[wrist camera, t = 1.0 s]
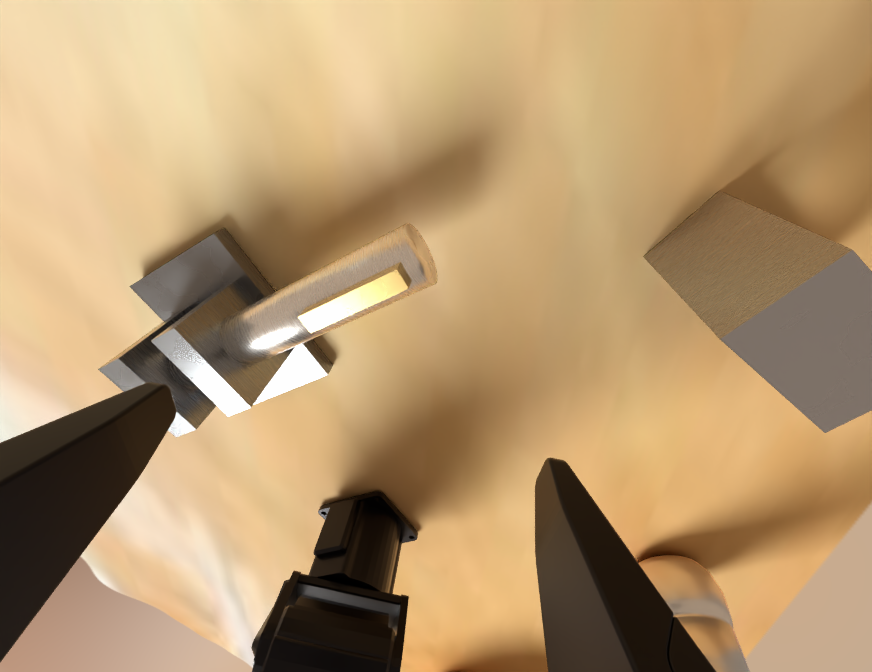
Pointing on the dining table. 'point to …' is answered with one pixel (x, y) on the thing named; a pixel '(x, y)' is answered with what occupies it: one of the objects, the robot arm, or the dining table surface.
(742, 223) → the hollow rectangular metal block
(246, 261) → the shaft stand
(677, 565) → the plastic bottle
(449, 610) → the dining table surface
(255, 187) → the dining table surface
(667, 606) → the robot arm
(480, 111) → the dining table surface
